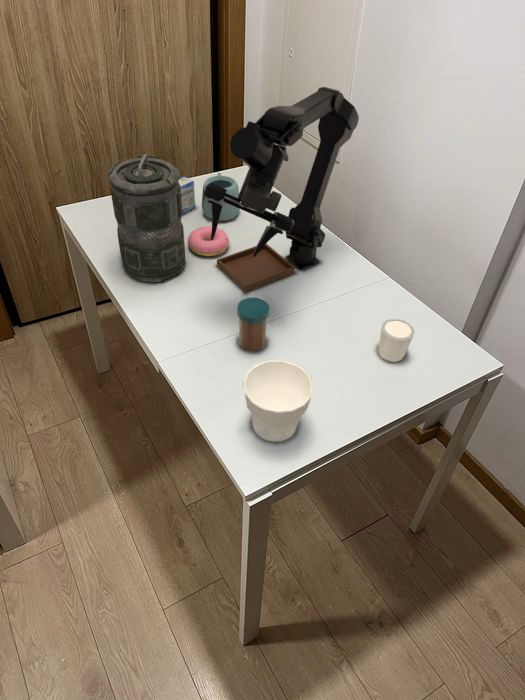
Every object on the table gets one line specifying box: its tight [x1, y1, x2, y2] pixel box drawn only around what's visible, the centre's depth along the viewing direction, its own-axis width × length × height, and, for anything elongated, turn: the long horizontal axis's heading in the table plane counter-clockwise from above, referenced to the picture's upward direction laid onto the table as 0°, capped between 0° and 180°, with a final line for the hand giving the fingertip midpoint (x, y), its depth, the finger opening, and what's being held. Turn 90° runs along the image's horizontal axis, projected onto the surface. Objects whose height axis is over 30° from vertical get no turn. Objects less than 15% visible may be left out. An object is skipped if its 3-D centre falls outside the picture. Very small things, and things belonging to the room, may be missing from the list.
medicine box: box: [178, 176, 196, 215], centre depth 153 cm, size 8×4×9 cm, turn 141°
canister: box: [107, 153, 186, 283], centre depth 126 cm, size 16×16×28 cm
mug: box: [201, 172, 240, 222], centre depth 154 cm, size 15×11×10 cm
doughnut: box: [187, 226, 230, 257], centre depth 142 cm, size 11×11×4 cm
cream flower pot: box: [242, 359, 315, 442], centre depth 97 cm, size 12×12×11 cm
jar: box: [238, 318, 268, 352], centre depth 114 cm, size 6×6×10 cm
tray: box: [216, 243, 296, 294], centre depth 136 cm, size 15×13×2 cm
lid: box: [236, 296, 270, 324], centre depth 111 cm, size 7×7×2 cm
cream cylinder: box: [377, 318, 415, 363], centre depth 114 cm, size 7×7×7 cm
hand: (232, 248), depth 109 cm, fingers open, 9 cm apart
